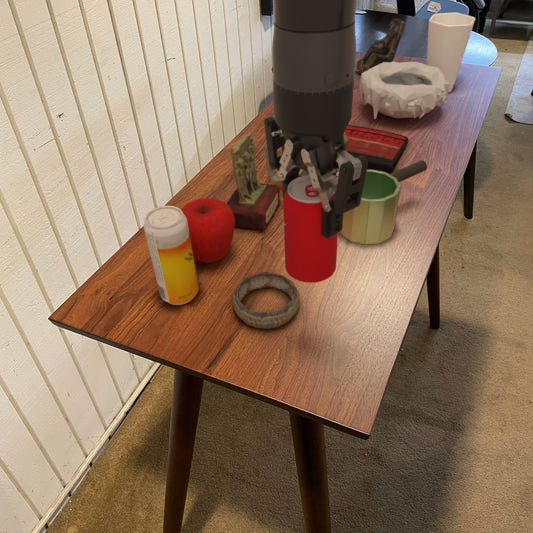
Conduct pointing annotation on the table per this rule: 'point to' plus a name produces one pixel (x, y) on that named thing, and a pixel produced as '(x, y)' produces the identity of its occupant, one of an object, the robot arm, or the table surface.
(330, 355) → the table surface
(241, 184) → the sculpture
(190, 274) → the beer can
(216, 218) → the apple
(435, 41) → the cup
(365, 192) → the pot
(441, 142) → the table surface
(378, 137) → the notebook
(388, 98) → the bowl
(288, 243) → the beverage can
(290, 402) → the table surface
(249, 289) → the decorative ring
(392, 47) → the statue
